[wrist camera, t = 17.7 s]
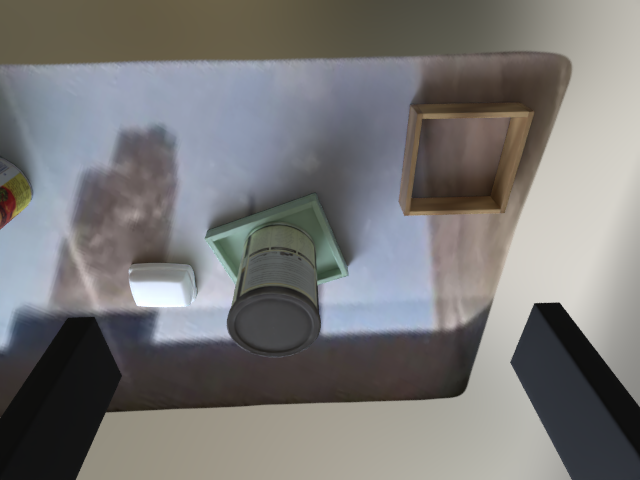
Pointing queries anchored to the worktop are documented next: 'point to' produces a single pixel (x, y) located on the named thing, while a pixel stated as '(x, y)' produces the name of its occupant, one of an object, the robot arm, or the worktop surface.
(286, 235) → the coffee can
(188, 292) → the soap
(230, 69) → the worktop surface
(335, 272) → the tray
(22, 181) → the canned food
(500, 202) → the can stand
